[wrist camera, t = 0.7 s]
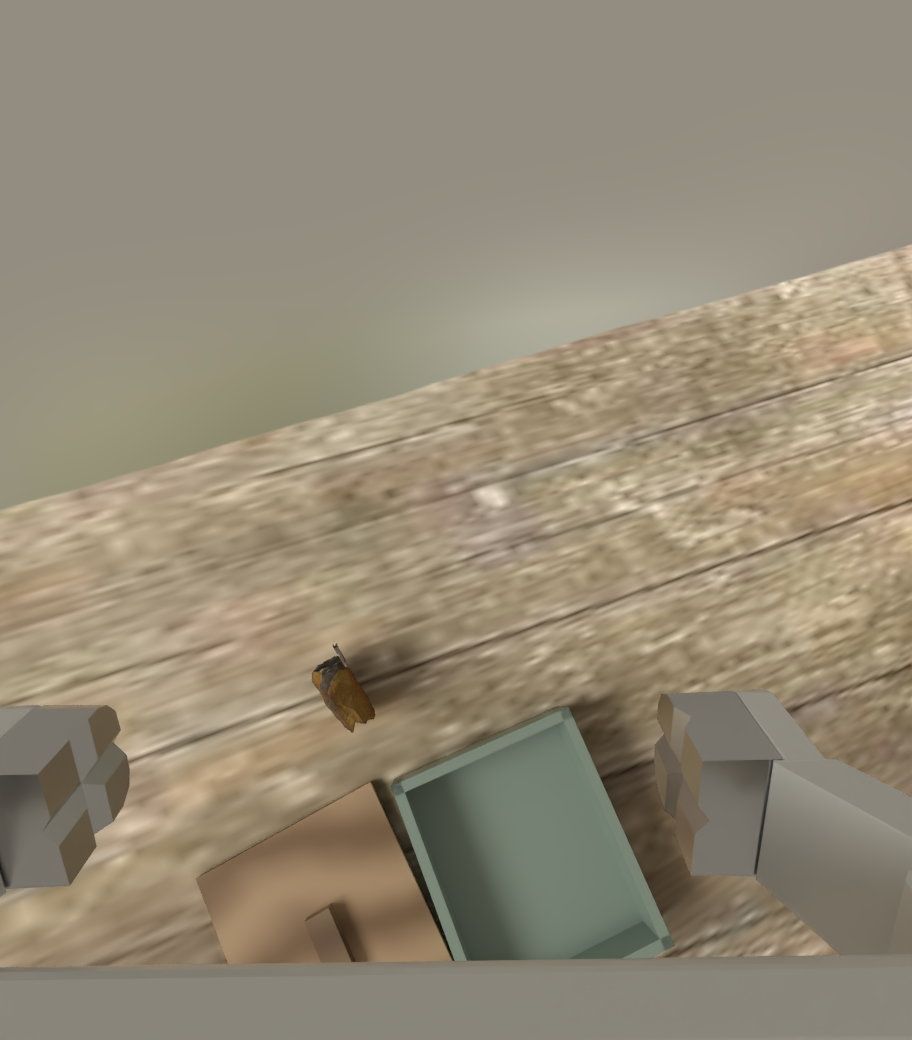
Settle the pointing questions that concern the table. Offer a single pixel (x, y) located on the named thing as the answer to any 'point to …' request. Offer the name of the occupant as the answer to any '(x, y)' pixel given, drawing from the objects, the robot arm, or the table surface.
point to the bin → (528, 850)
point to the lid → (324, 893)
